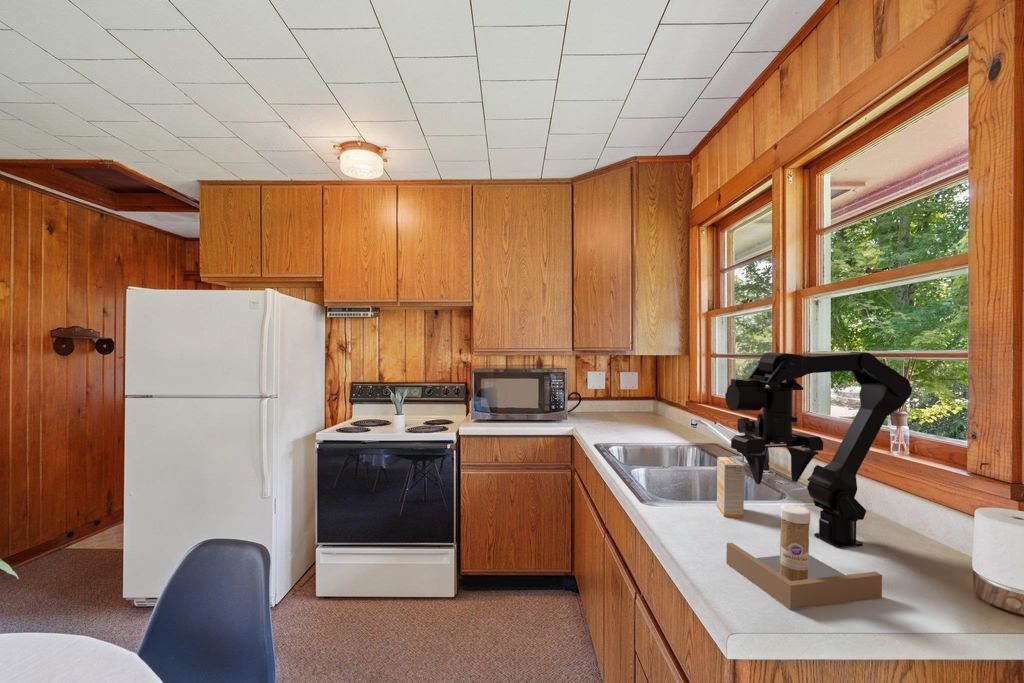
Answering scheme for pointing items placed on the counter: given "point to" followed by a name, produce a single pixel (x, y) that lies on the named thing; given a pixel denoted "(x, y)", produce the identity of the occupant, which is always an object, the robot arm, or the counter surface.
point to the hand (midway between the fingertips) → (776, 482)
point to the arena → (805, 581)
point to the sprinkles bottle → (794, 542)
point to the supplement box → (730, 486)
